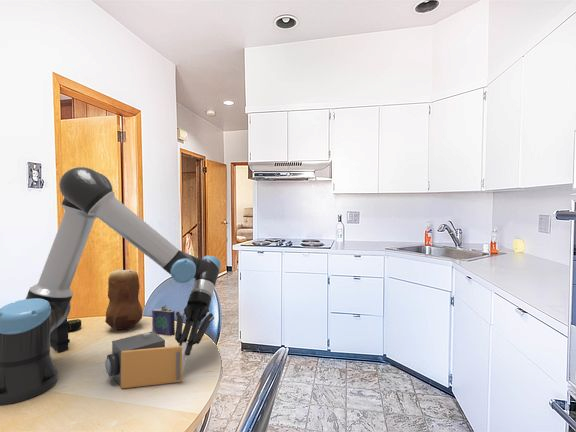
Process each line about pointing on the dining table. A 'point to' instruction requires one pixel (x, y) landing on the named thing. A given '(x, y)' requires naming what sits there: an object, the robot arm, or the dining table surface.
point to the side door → (151, 366)
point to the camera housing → (130, 343)
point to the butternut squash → (123, 300)
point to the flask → (163, 321)
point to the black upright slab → (60, 337)
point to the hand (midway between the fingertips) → (179, 365)
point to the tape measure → (74, 324)
